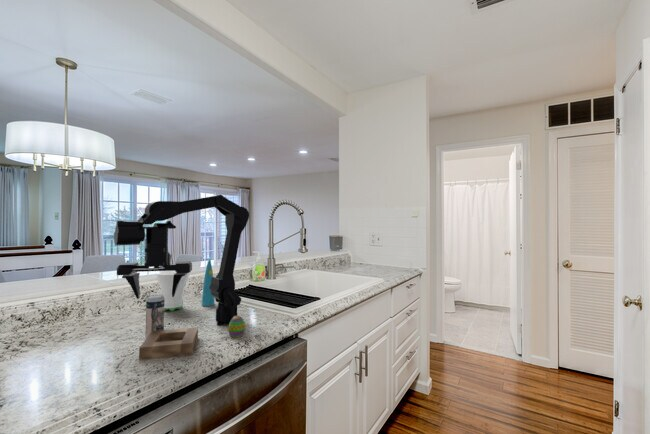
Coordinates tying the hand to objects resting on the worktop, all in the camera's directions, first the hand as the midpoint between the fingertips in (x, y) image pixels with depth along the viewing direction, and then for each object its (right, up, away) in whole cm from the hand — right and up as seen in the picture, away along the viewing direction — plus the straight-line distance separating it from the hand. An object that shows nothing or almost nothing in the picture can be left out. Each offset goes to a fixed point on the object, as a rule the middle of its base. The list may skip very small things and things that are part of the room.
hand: (155, 297), depth 90 cm
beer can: (0, -12, 0) cm, 12 cm away
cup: (-10, -12, +29) cm, 33 cm away
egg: (+23, -12, +2) cm, 26 cm away
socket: (+8, -12, -7) cm, 16 cm away
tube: (+2, -13, +36) cm, 38 cm away
